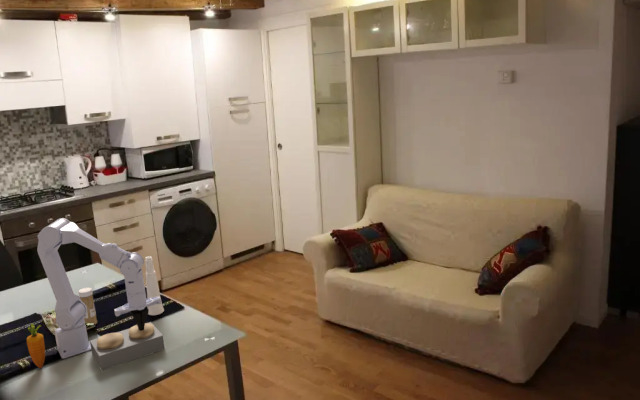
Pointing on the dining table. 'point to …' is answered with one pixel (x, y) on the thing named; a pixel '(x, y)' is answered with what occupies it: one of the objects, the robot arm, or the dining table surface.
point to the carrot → (36, 346)
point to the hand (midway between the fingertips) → (141, 329)
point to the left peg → (110, 341)
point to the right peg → (138, 334)
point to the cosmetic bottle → (152, 287)
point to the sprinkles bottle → (88, 305)
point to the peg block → (127, 349)
